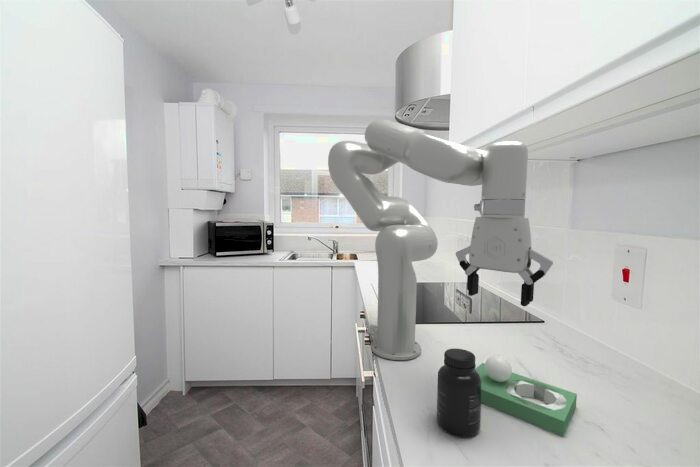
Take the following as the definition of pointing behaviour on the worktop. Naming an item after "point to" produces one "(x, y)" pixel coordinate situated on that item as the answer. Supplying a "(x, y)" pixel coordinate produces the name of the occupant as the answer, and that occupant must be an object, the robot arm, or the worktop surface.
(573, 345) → the worktop surface
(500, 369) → the ball
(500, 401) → the green flat slab
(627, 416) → the worktop surface
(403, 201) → the robot arm
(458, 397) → the supplement bottle
